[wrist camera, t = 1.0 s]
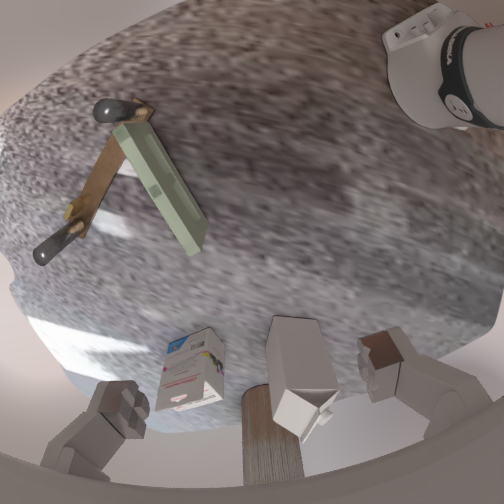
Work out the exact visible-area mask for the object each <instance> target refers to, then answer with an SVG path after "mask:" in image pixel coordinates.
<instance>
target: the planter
mask: <svg viewBox="0 0 504 504" xmlns="http://www.w3.org/2000/svg"><path fill="white" fill-rule="evenodd" d="M242 445H243V446H242V447H243V484H244V486H249V485H258V484H266V483H274V482H281V481H287V480H293V479H298V478H303V477H305V476H304V470H303V464H302V457H301V451H300V446H299V439H298V436H297V435H295V434H293V433H292V432H290V431H289V430H287V429H286V428H284V427H282V426H281V425H279V424H278V423H276V422H275V421H273V416H272V407H271V398H270V388H269V385H261V386H257V387H254V388H252V389H250V390H248V391H247V392H246V393H245V394H244V395H243V397H242Z"/></svg>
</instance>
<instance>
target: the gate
mask: <svg viewBox="0 0 504 504" xmlns="http://www.w3.org/2000/svg"><path fill="white" fill-rule="evenodd" d="M112 132H113V134H114V136H115V138H116V139H117V141H118V143H119V145H120V146H121V148H122V150H123V152H124V153H125V155H126V157H127V158H128V160H129V162H130V163H131V165H132V167H133V168H134V170H135V172H136V173H137V175H138V177H139V178H140V180H141V182H142V183H143V185H144V187H145V188H146V190H147V192H148V193H149V195H150V196H151V198H152V200H153V201H154V203H155V204H156V206H157V208H158V209H159V211H160V212H161V214H162V216H163V217H164V219H165V220H166V222H167V223H168V225H169V227H170V228H171V230H172V231H173V233H174V234H175V236H176V237H177V239H178V240H179V242H180V244H181V245H182V247H183V248H184V250H185V251H186V253H187V254H188V256H189V257H190V256H192V255H194V254H196V253H198V252H200V251H201V249H202V245H203V242H204V238H205V235H206V231H207V228H208V225H209V223H208V221H207V219H206V218H205V216H204V214H203V213H202V211H201V209H200V208H199V206H198V204H197V203H196V201H195V199H194V198H193V196H192V195H191V193H190V191H189V190H188V188H187V186H186V184H185V183H184V181H183V179H182V178H181V176H180V174H179V173H178V171H177V169H176V168H175V166H174V164H173V163H172V161H171V159H170V157H169V156H168V154H167V152H166V151H165V149H164V147H163V146H162V144H161V142H160V140H159V139H158V137H157V135H156V134H155V132H154V130H153V128H152V127H151V125H150V123H149V122H133V123H122V124H121V125H120V126H118V127H117V128H116V129H114V130H113V131H112Z"/></svg>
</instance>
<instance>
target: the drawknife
mask: <svg viewBox="0 0 504 504" xmlns="http://www.w3.org/2000/svg"><path fill="white" fill-rule="evenodd" d="M154 112H155V110H154V109H153V108H151V107H150V106H148V105H146V104H145V103H143V102H142V101H140V100H139V99H137V98H134V99H133V101H132V102H130V101H123V100H115V99H107V98H105V99H101V100H99V101H98V102H97V103H96V105H95V106H94V109H93V116H94V118H95V120H96V121H97V122H99V123H113V122H119V123H118V125H117V126H116V128H117V127H118V126H120V125H121V124H122V123H133V122H148V121H149V119H150V118H151V116H152V115H153V113H154ZM116 128H115V129H116ZM125 158H126V155H125V153H124V152H123V150H122V148H121V146H120V145H119V143H118V141H117V139H116V138H115V136H114V134H113V133H112V135H111V137H110V138H109V140H108V142H107V144H106V145H105V147H104V149H103V151H102V153H101V155H100V156H99V158H98V160H97V162H96V164H95V166H94V168H93V170H92V172H91V174H90V176H89V178H88V180H87V182H86V184H85V186H84V188H83V191H82V193H81V195H80V197H79V198H77V199H75V200H74V201H72V202H70V203H69V205H68V207H67V209H66V212H65V214H64V217H63V218H64V219H66V220H67V221H68V220H69V219H70V220H69V223H68V224H67V225H65V226H64V227H62V228H61V229H60V230H58V231H57V232H56V233H54V234H53V235H52V236H50V237H49V238H48V239H46V240H45V241H44V242H43V243H41V244H40V245H39V246H37V247H36V248H35V249H34V250H33V258H34V260H35V262H36V263H37V264H38V265H40V266H45V265H46V264H47V263H48V262H49V261H51V260H52V259H53V258H54V257H55V256H56V255H57V254H58V253H59V252H61V251H62V250H63V249H64V248H65V247H66V246H67V245H69V244H70V243H71V242H72V241H73V240H74V239H75V238H77V237H78V236H79V237H80V238H82V239H83V238H84V237H85V236H86V233H87V231H88V229H89V227H90V225H91V223H92V220H93V218H94V216H95V214H96V212H97V210H98V208H99V206H100V204H101V202H102V200H103V198H104V196H105V194H106V192H107V190H108V188H109V186H110V185H111V183H112V181H113V179H114V177H115V175H116V174H117V172H118V170H119V168H120V166H121V165H122V163H123V161H124V159H125Z"/></svg>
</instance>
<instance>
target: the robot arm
mask: <svg viewBox="0 0 504 504" xmlns="http://www.w3.org/2000/svg"><path fill="white" fill-rule="evenodd" d="M485 25H486V27H487V28H481V27H480V25H479V24H478V23H477V22H476V21H475V20H474V19H473V18H472V17H470V16H469V15H467V14H466V13H464V12H462V11H456V12H454V11H453V10H451V9H450V8H449V7H447V6H445V5H444V4H442V3H435V4H433V5H431V6H429V7H427V8H425V9H423V10H421V11H420V12H418V13H416V14H414V15H412V16H411V17H409V18H407V19H405V20H404V21H402V22H400V23H399V24H397V25H395V26H394V27H392V28H390V29H389V30H387V31H385V32H384V33H383V35H382V40H383V43H384V46H385V49H386V52H387V55H388V78H389V83H390V87H391V90H392V92H393V95H394V97H395V99H396V101H397V102H398V104H399V106H400V107H401V108H402V110H403V111H404V112H405V113H406V114H407V115H408V116H409V117H410V118H411V119H412V120H413V121H415V122H416V123H418V124H420V125H422V126H424V127H427V128H431V129H440V128H446V127H452V128H454V129H457V130H466V129H467V128H468V127H485V128H491V129H493V130H499V129H500V130H504V24H502V25H498V26H493V25H492V24H491V23H490V25H491V27H490V26H489V25H488V24H485ZM395 34H397V36H398V38H397V37H396V36H395ZM357 347H358V349H359V351H360V353H359V354H358V355H357V358H358V367H359V371H360V374H361V377H362V379H363V380H364V381H366V382H367V391H368V394H369V396H370V398H371V401H372V403H375V402H378V401H381V400H384V399H388V398H390V397H394V396H395V397H396V398H397V399H399V400H400V401H401V402H403V403H405V404H406V405H408V406H409V407H411V408H412V409H413V410H415V411H416V412H418V413H419V414H421V415H423V416H424V417H425V418H427V419H429V420H430V422H429V425H428V427H427V429H426V431H425V433H424V436H423V437H424V440H422V441H420V442H417V443H415V444H413V445H410V446H408V447H405V448H403V449H400V450H398V451H395V452H393V453H390V454H387V455H384V456H381V457H378V458H375V459H372V460H369V461H367V462H363V463H360V464H356V465H353V466H350V467H346V468H342V469H339V470H334V471H330V472H327V473H322V474H318V475H314V476H309V477H303V478H298V479H293V480H287V481H281V482H274V483H266V484H258V485H249V486H238V487H223V488H163V487H149V486H138V485H128V484H120V483H113V482H110V478H109V476H107V475H106V474H105V473H103V472H102V471H101V470H102V469H103V468H104V467H105V465H106V464H107V463H108V462H109V460H110V459H111V458H112V456H113V455H114V454H115V453H116V451H117V450H118V449H119V448H120V446H121V445H122V444H123V442H124V441H125V439H144V434H145V430H146V423H145V422H144V420H145V419H146V418H147V417H148V416H149V411H150V407H149V402H148V399H147V397H146V396H145V394H144V393H142V392H140V391H138V388H139V386H138V385H137V384H136V382H135V381H132V380H127V381H101V382H99V383H98V384H97V387H96V389H95V392H94V394H93V396H92V399H91V401H90V404H89V407H88V409H87V411H86V412H83V413H82V414H81V415H79V416H78V417H77V418H76V419H75V420H74V421H73V422H72V423H70V425H68V426H67V427H66V428H65V429H64V430H63V431H61V432H60V433H59V434H58V435H57V436H56V437H55V438H53V439H52V440H51V441H50V442H49V443H48V445H47V448H46V451H45V453H44V456H43V459H42V461H41V464H40V466H38V465H35V464H31V463H29V462H26V461H23V460H20V459H17V458H14V457H12V456H9V455H6V454H4V453H1V452H0V504H504V396H503V397H501V398H500V399H498V400H496V401H495V402H493V401H492V400H491V398H490V396H489V395H488V394H487V392H486V390H485V389H484V388H483V386H482V385H481V384H480V382H479V380H478V379H477V378H476V377H475V376H473V375H470V374H468V373H466V372H463V371H461V370H459V369H456V368H454V367H451V366H449V365H447V364H444V363H442V362H440V361H438V360H435V359H433V358H431V357H428V356H426V355H424V354H422V355H419V354H418V353H417V351H416V350H415V348H414V347H413V345H412V344H411V342H410V341H409V339H408V338H407V336H406V335H405V333H404V332H403V330H402V329H401V328H400V327H399V326H395V327H392V328H389V329H386V330H385V331H384V330H383V331H380V332H377V333H374V334H371V335H368V336H365V337H361V338H358V341H357Z"/></svg>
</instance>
